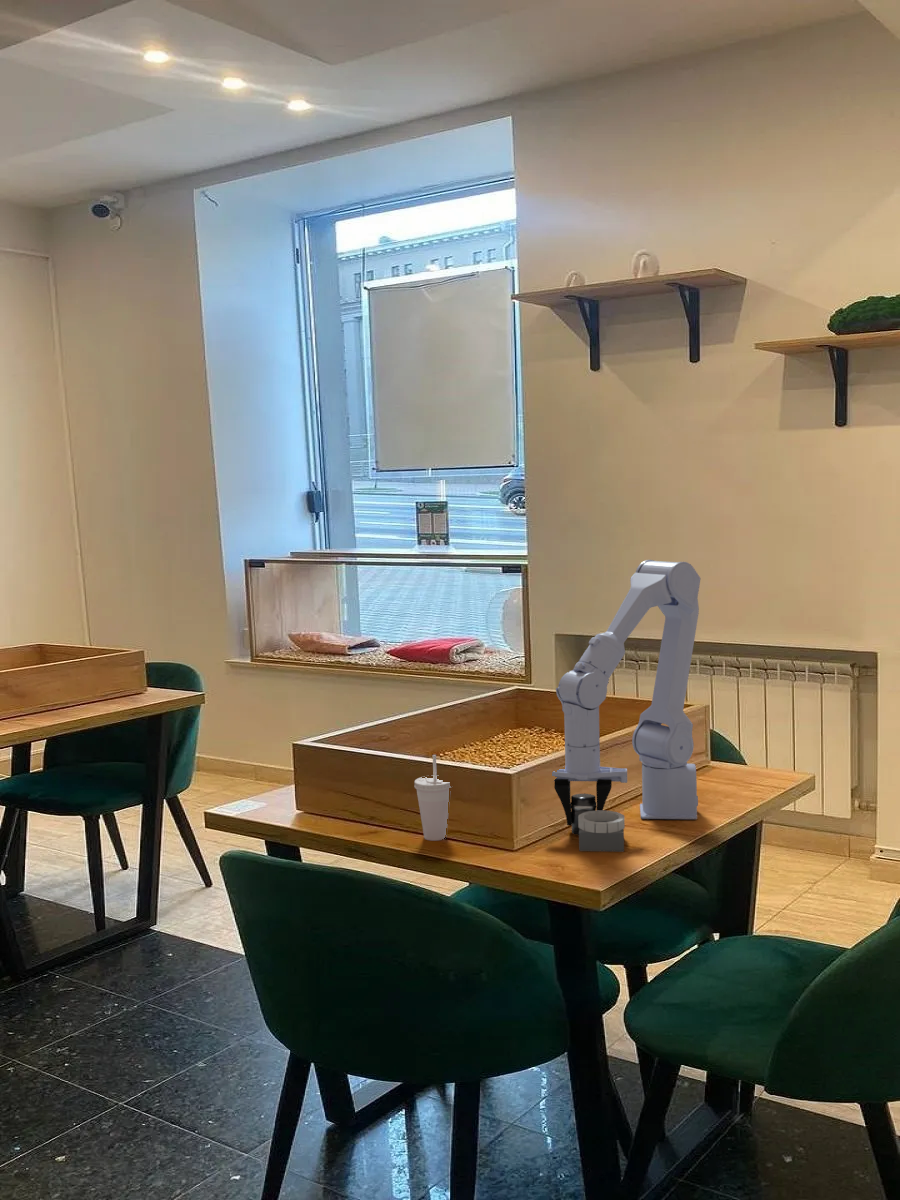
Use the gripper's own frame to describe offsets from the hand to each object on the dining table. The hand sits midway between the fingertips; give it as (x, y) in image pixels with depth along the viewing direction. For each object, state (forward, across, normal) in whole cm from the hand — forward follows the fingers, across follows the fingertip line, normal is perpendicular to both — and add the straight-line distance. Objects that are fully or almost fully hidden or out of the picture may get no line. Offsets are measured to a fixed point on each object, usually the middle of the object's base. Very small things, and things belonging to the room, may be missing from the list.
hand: (583, 823), depth 188 cm
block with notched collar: (+1, +3, -6) cm, 7 cm away
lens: (+1, 0, 0) cm, 1 cm away
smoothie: (+2, -24, -4) cm, 25 cm away
